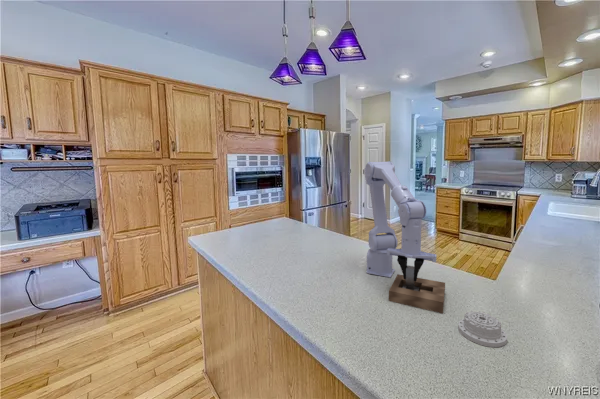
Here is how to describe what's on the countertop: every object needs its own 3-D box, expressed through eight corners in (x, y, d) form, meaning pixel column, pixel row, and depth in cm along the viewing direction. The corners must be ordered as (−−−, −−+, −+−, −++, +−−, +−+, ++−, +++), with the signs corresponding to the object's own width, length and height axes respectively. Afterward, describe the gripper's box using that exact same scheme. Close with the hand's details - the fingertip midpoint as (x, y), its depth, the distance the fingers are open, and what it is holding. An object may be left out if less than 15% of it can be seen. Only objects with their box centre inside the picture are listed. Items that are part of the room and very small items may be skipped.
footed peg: (400, 295, 84) (401, 268, 83) (403, 288, 88) (403, 263, 87) (417, 298, 82) (418, 271, 80) (419, 291, 86) (419, 265, 84)
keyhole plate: (388, 300, 82) (388, 290, 81) (397, 283, 93) (397, 274, 93) (442, 313, 74) (443, 302, 73) (444, 292, 86) (445, 282, 85)
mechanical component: (507, 332, 65) (461, 318, 72) (508, 316, 65) (462, 303, 71) (505, 354, 58) (454, 336, 64) (506, 336, 57) (455, 320, 64)
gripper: (384, 239, 83) (384, 279, 84) (435, 245, 75) (434, 289, 77) (389, 234, 89) (389, 271, 90) (437, 239, 81) (435, 279, 83)
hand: (410, 279), depth 84 cm, fingers closed on footed peg, 2 cm apart
